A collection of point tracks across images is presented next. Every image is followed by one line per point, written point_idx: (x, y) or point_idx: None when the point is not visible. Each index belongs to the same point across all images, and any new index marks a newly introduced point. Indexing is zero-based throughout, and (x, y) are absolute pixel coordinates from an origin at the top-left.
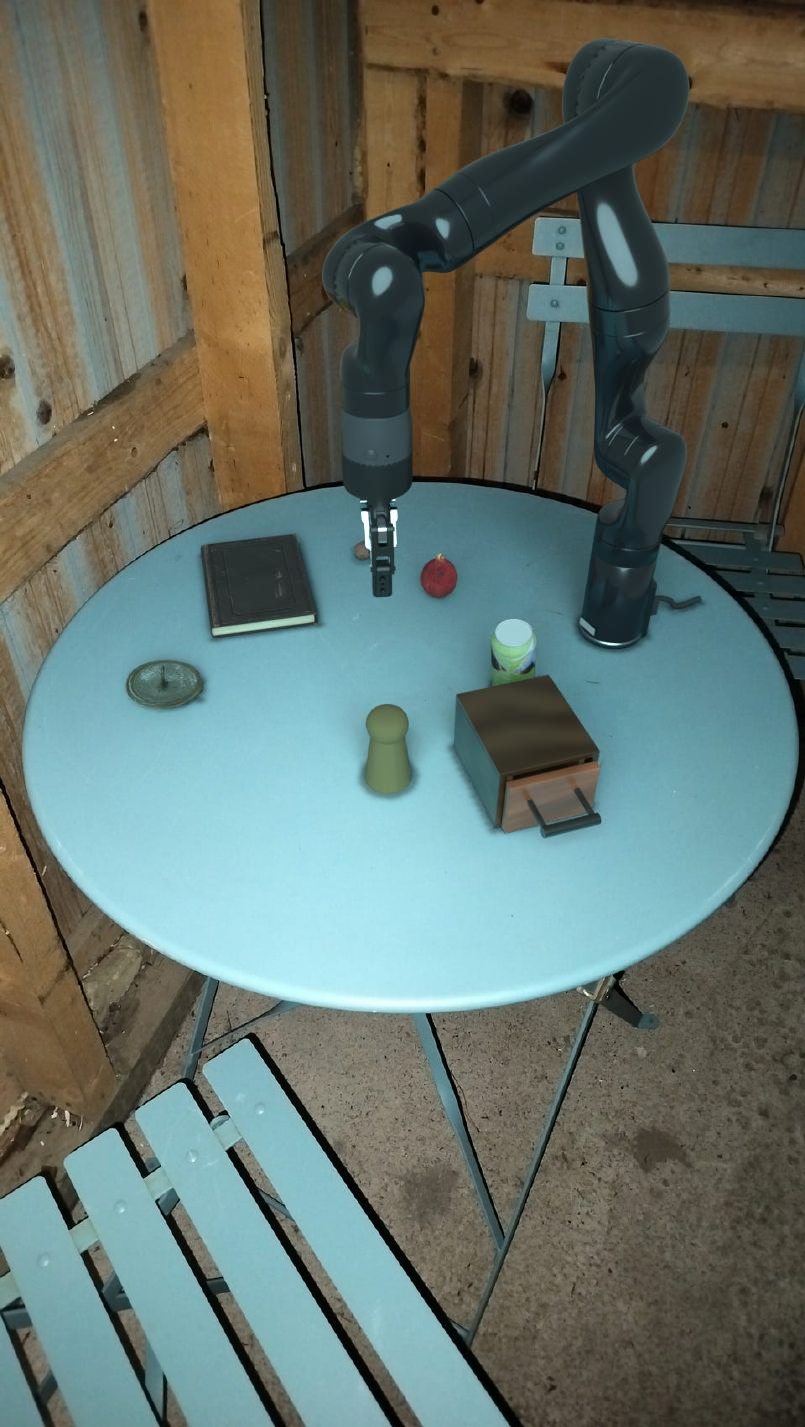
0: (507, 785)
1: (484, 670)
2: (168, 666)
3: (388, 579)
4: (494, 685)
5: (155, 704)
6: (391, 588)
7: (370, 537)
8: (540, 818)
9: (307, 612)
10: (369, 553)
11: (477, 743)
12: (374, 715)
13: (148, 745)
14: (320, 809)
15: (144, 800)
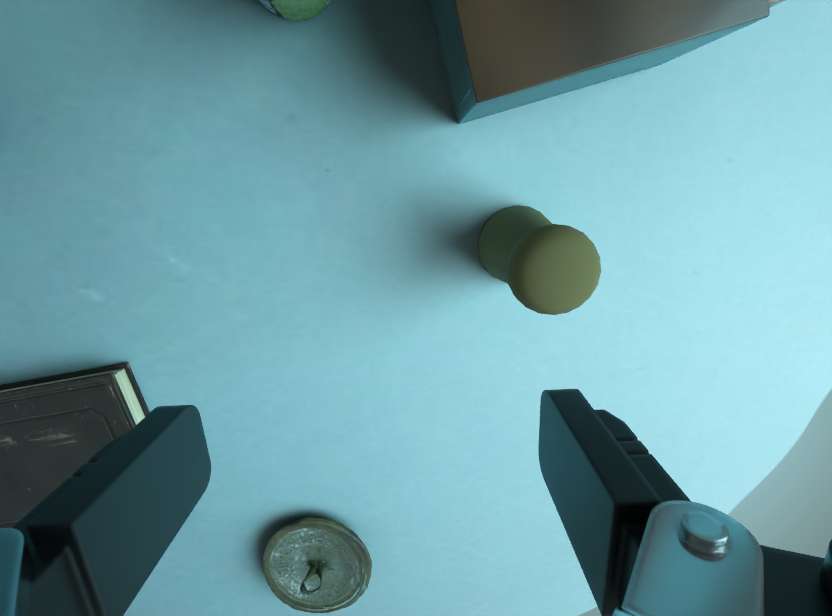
0: (773, 3)
1: (229, 33)
2: (276, 566)
3: (673, 484)
4: (311, 10)
5: (365, 573)
6: (591, 410)
7: (146, 559)
8: None
9: (113, 389)
10: (206, 485)
11: (612, 66)
12: (561, 303)
13: (425, 558)
14: (570, 345)
15: (524, 549)
